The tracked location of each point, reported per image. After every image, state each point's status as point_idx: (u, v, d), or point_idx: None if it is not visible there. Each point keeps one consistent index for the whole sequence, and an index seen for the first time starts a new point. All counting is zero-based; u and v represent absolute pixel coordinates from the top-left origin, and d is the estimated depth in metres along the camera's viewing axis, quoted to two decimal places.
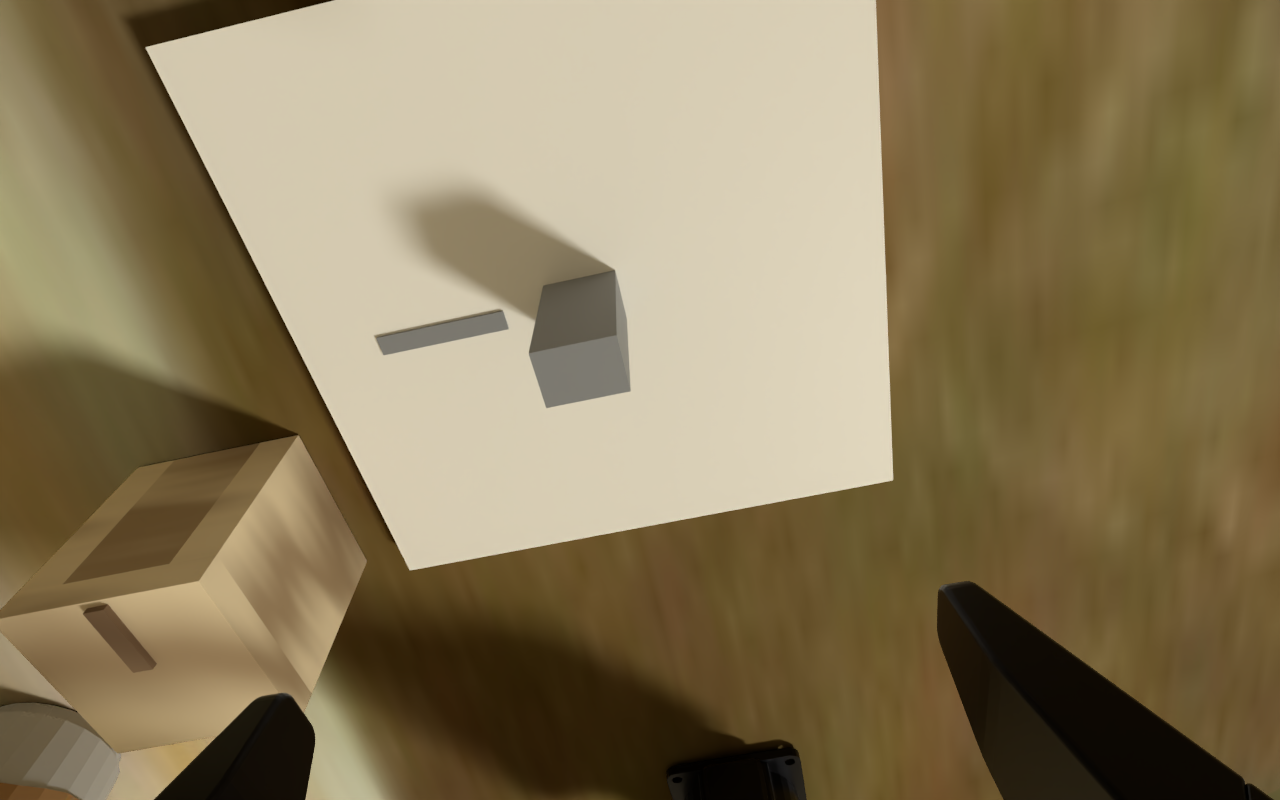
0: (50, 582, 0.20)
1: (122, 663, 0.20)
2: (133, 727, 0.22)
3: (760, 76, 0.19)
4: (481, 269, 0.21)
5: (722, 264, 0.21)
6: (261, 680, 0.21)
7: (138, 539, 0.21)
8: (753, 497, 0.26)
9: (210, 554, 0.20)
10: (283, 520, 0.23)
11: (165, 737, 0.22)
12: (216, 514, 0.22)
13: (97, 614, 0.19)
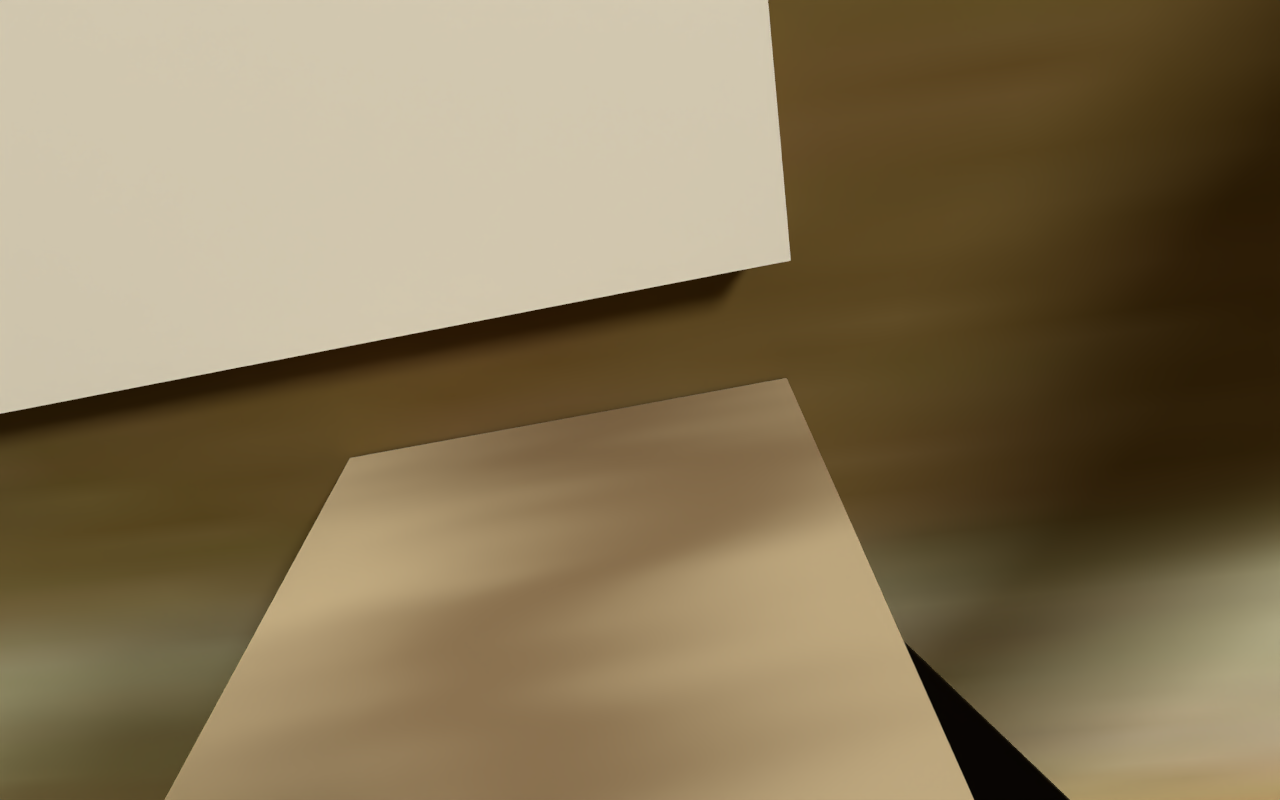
0: None
1: None
2: None
3: None
4: None
5: None
6: None
7: None
8: None
9: None
10: (389, 602, 0.07)
11: None
12: None
13: None
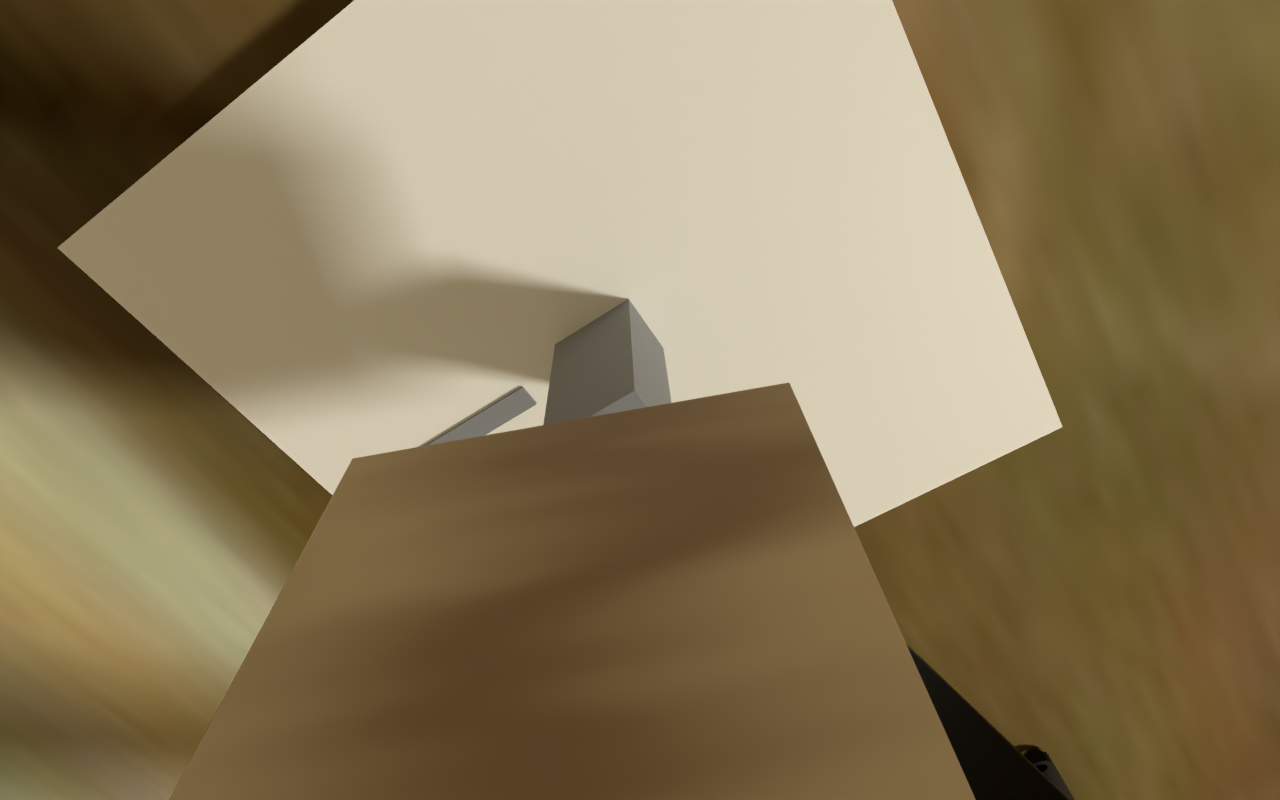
0: None
1: None
2: None
3: (714, 3, 0.14)
4: (481, 350, 0.18)
5: (752, 247, 0.17)
6: None
7: None
8: (890, 498, 0.21)
9: None
10: (392, 604, 0.07)
11: None
12: None
13: None
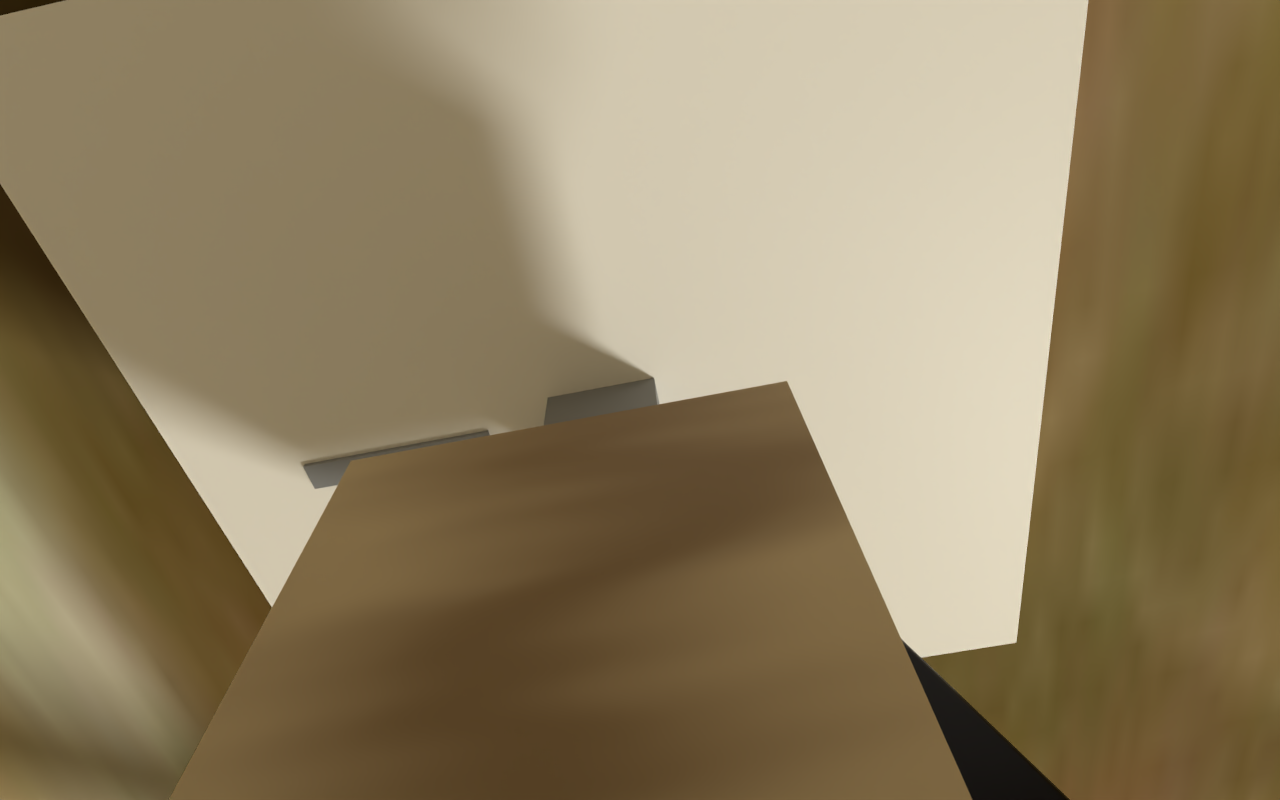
0: None
1: None
2: None
3: (894, 100, 0.12)
4: (456, 375, 0.14)
5: (811, 371, 0.15)
6: None
7: None
8: None
9: None
10: (390, 606, 0.07)
11: None
12: None
13: None
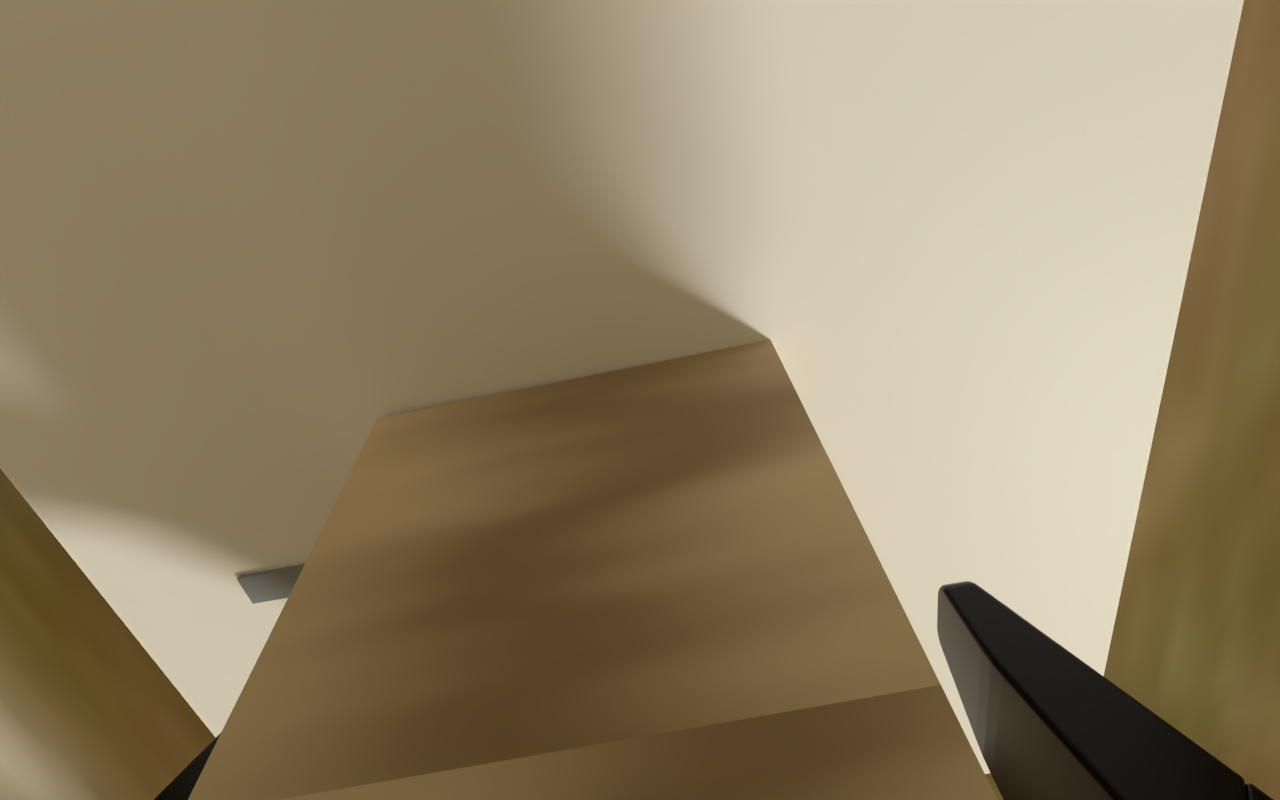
0: None
1: None
2: None
3: (979, 143, 0.09)
4: None
5: (858, 468, 0.12)
6: None
7: None
8: None
9: None
10: (425, 529, 0.08)
11: None
12: None
13: None
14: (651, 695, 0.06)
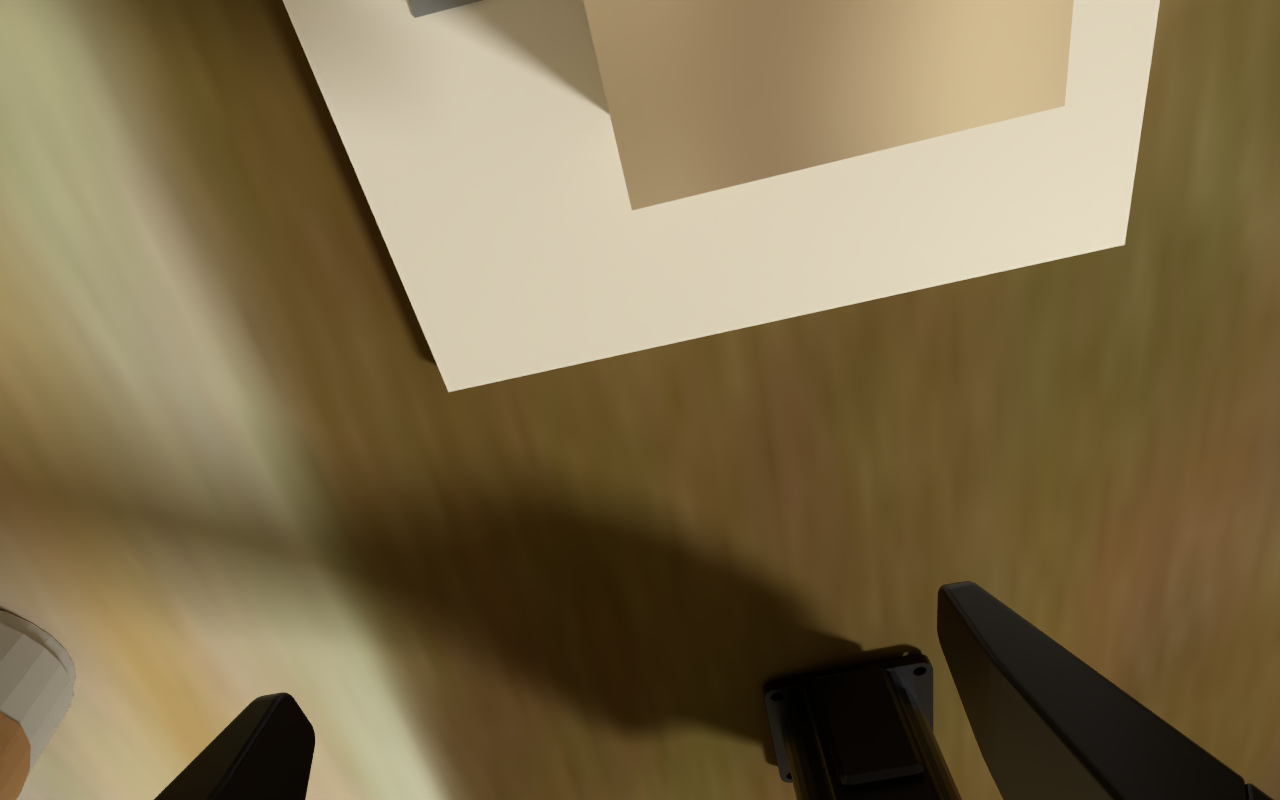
0: None
1: None
2: (992, 31, 0.09)
3: None
4: None
5: None
6: None
7: None
8: (928, 272, 0.18)
9: None
10: None
11: None
12: None
13: None
14: None
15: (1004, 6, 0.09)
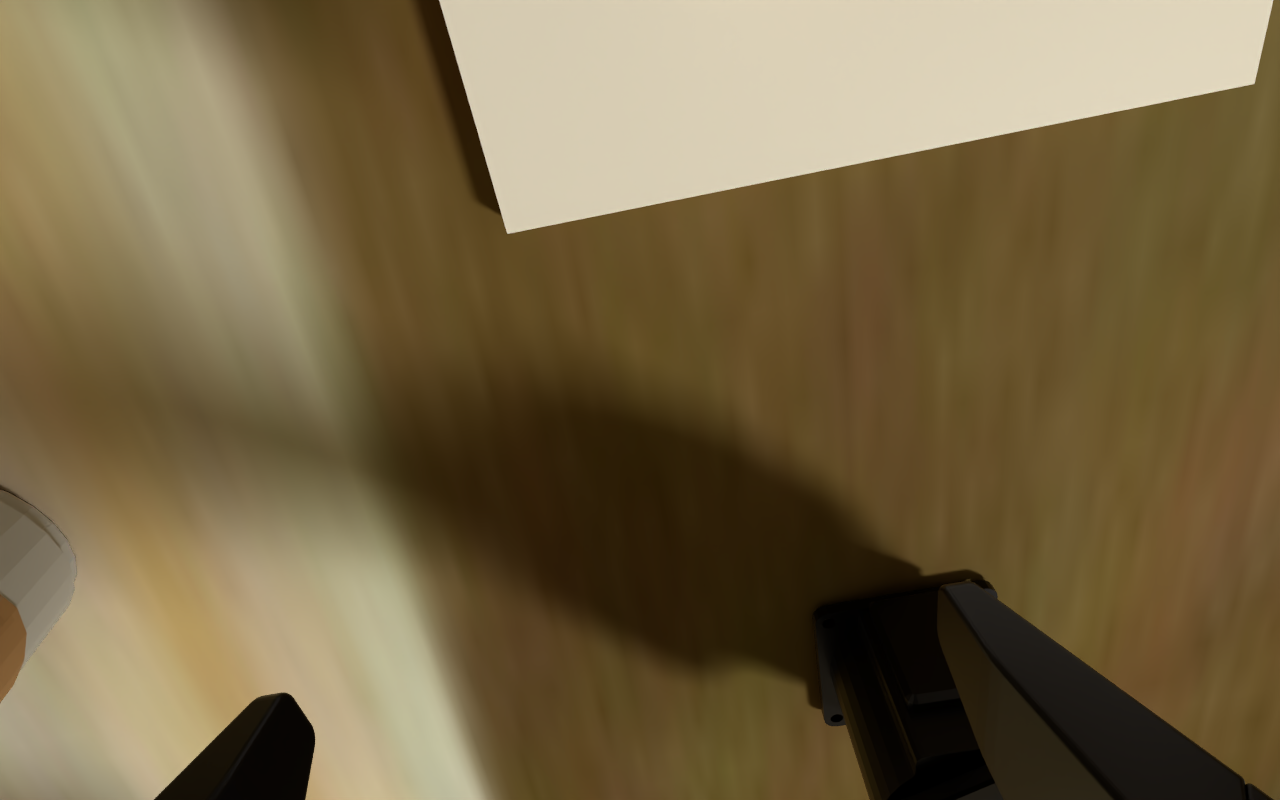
0: None
1: None
2: None
3: None
4: None
5: None
6: None
7: None
8: (1040, 108, 0.17)
9: None
10: None
11: None
12: None
13: None
14: None
15: None
